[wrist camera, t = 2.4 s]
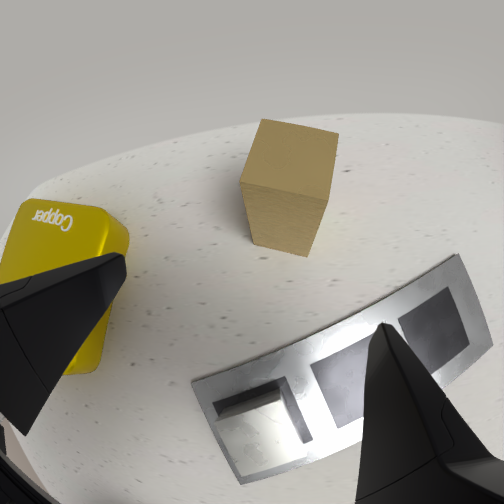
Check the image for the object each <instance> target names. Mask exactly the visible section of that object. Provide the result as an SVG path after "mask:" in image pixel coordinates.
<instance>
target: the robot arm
mask: <svg viewBox="0 0 504 504" xmlns="http://www.w3.org/2000/svg"><path fill="white" fill-rule="evenodd" d="M126 276H127V272H126V263H125V257H124V255H123V254H120V253H117V252H112V253H108V254H104V255H101V256H97V257H93V258H90V259H86V260H83V261H79V262H76V263H72V264H69V265H65V266H62V267H58V268H55V269H52V270H48V271H45V272H42V273H38V274H35V275H33V276H28V277H25V278H22V279H18V280H15V281H11V282H7V283H4V284H0V423H1V422H2V421H3V419H4V418H5V417H6V418H7V420H8V421H9V422H10V423H11V424H12V425H14V426H15V427H16V428H17V429H18V430H19V431H20V432H21V433H22V434H23V435H24V436H26V435H27V434H28V432H29V430H30V429H31V427H32V425H33V423H34V421H35V420H36V418H37V416H38V414H39V413H40V411H41V409H42V407H43V406H44V404H45V402H46V401H47V399H48V397H49V396H50V394H51V392H52V390H53V389H54V387H55V386H56V384H57V382H58V381H59V379H60V378H61V376H62V375H63V373H64V371H65V370H66V368H67V367H68V365H69V364H70V362H71V361H72V359H73V358H74V356H75V355H76V353H77V352H78V350H79V349H80V347H81V346H82V344H83V343H84V342H85V340H86V339H87V337H88V336H89V334H90V333H91V332H92V330H93V329H94V327H95V326H96V325H97V323H98V322H99V320H100V319H101V318H102V316H103V315H104V314H105V312H106V311H107V309H108V307H109V306H110V304H111V303H112V301H113V299H114V298H115V296H116V294H117V293H118V291H119V289H120V288H121V286H122V284H123V283H124V281H125V279H126ZM355 501H356V502H355V504H504V461H503V460H500V459H498V458H496V457H494V456H493V455H492V454H491V453H490V452H489V451H488V450H487V449H486V447H485V446H484V445H483V443H482V442H481V441H480V440H479V438H478V437H477V436H476V435H475V433H474V432H473V431H472V430H471V428H470V427H469V426H468V425H467V423H466V422H465V421H464V419H463V418H462V417H461V416H460V414H459V413H458V411H457V410H456V409H455V407H454V406H453V405H452V403H451V402H450V400H449V399H448V398H447V397H446V395H445V393H444V392H443V390H442V389H441V388H440V386H439V385H438V384H437V382H436V381H435V379H434V378H433V377H432V375H431V374H430V373H429V371H428V370H427V369H426V367H425V366H424V365H423V363H422V362H421V361H420V359H419V358H418V357H417V355H416V354H415V353H414V352H413V350H412V349H411V348H410V346H409V345H408V344H407V343H406V341H405V340H404V339H403V337H402V336H401V335H400V334H399V332H398V331H397V330H396V329H395V327H394V326H393V325H392V324H388V323H383V322H382V323H380V324H379V325H378V327H377V329H376V330H375V332H374V334H373V336H372V338H371V340H370V342H369V346H368V357H367V366H366V375H365V384H364V411H363V431H362V446H361V458H360V468H359V477H358V485H357V492H356V499H355ZM0 504H61V503H59V502H58V501H57V500H55V499H54V498H53V497H51V496H50V495H49V494H48V493H46V492H45V491H44V490H43V489H41V488H40V487H39V486H38V485H37V484H36V483H34V482H33V481H32V480H31V479H30V478H29V477H28V476H27V475H25V474H24V473H23V472H22V471H21V470H20V469H19V468H18V467H17V466H16V465H15V464H14V463H13V462H12V461H10V459H9V458H8V457H7V456H6V446H5V436H4V427H3V426H2V425H1V424H0Z"/></svg>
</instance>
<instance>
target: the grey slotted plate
mask: <svg viewBox="0 0 504 504" xmlns="http://www.w3.org/2000/svg"><path fill="white" fill-rule="evenodd" d="M382 322H383V323H388V324H392V325H393V326H394V327H395V329H396V330H397V331H398V332H399V334H400V335H401V336H402V337H403V339H404V340H405V341H406V343H407V344H408V345H409V346H410V348H411V349H412V350H413V352H414V353H415V354H416V355H417V357H418V358H419V359H420V361H421V362H422V363H423V365H424V366H425V367H426V369H427V370H428V371H429V373H430V374H431V375H432V377H433V378H434V379H435V381H436V382H437V384H438V385H439V386H440V388H441V389H443V388H444V387H446V386H447V385H448V384H449V383H451V382H452V381H453V380H454V379H456V378H457V377H458V376H459V375H461V374H462V373H463V372H464V371H465V370H467V369H468V368H469V367H470V366H471V365H472V364H473V363H475V362H476V361H477V360H478V359H479V358H480V357H481V356H482V355H483V354H484V353H485V352H487V351H488V350H489V349H490V348H491V347H492V346H493V342H492V338H491V335H490V332H489V329H488V326H487V323H486V320H485V317H484V314H483V311H482V308H481V305H480V303H479V300H478V297H477V295H476V292H475V290H474V287H473V285H472V282H471V280H470V278H469V275H468V273H467V271H466V268H465V266H464V264H463V262H462V260H461V258H460V255H459V253H458V254H456V255H455V256H453V257H452V258H450V259H449V260H447V261H446V262H444V263H443V264H441V265H440V266H438V267H436V268H435V269H433V270H432V271H430V272H429V273H427V274H425V275H424V276H422V277H420V278H419V279H417V280H416V281H414V282H412V283H411V284H409V285H407V286H406V287H404V288H402V289H400V290H399V291H397V292H395V293H393V294H392V295H390V296H388V297H386V298H385V299H383V300H381V301H379V302H377V303H375V304H374V305H372V306H370V307H368V308H366V309H364V310H362V311H360V312H359V313H357V314H355V315H353V316H351V317H349V318H347V319H345V320H343V321H341V322H339V323H337V324H335V325H333V326H331V327H329V328H327V329H325V330H322V331H320V332H318V333H316V334H314V335H312V336H310V337H307V338H305V339H303V340H301V341H299V342H296V343H294V344H292V345H289V346H287V347H285V348H283V349H280V350H278V351H275V352H273V353H271V354H268V355H266V356H263V357H261V358H258V359H256V360H253V361H251V362H248V363H246V364H243V365H240V366H238V367H235V368H232V369H230V370H227V371H224V372H221V373H219V374H216V375H213V376H210V377H207V378H204V379H201V380H198V381H195V382H192V383H191V385H192V387H193V389H194V392H195V394H196V396H197V399H198V401H199V403H200V405H201V408H202V410H203V412H204V414H205V417H206V419H207V421H208V423H209V425H210V427H211V429H212V431H213V433H214V435H215V438H216V440H217V442H218V444H219V446H220V448H221V450H222V451H223V453H224V455H225V457H226V459H227V461H228V463H229V465H230V467H231V469H232V470H233V472H234V474H235V476H236V478H237V479H238V481H239V483H240V485H242V484H246V483H250V482H254V481H258V480H261V479H265V478H268V477H271V476H274V475H278V474H281V473H284V472H287V471H289V470H292V469H295V468H298V467H301V466H303V465H306V464H309V463H311V462H314V461H316V460H319V459H321V458H323V457H326V456H328V455H330V454H333V453H335V452H337V451H339V450H341V449H344V448H346V447H348V446H350V445H352V444H354V443H356V442H358V441H360V440H362V431H363V411H364V384H365V375H366V366H367V357H368V346H369V342H370V340H371V338H372V336H373V334H374V332H375V330H376V329H377V327H378V325H379V324H380V323H382ZM279 388H280V390H281V392H282V395H283V397H284V399H285V401H286V404H287V406H288V408H289V410H290V412H291V415H292V417H293V419H294V421H295V423H296V426H297V428H298V430H299V432H300V434H301V437H302V440H303V444H304V448H305V452H306V455H307V456H304V457H302V458H299V459H296V460H294V461H291V462H288V463H285V464H282V465H279V466H276V467H273V468H270V469H267V470H264V471H260V472H257V473H254V474H250V475H246V476H242V477H241V475H240V473H239V471H238V469H237V468H236V466H235V464H234V462H233V460H232V458H231V456H230V454H229V452H228V450H227V448H226V446H225V444H224V442H223V440H222V438H221V436H220V434H219V432H218V430H217V428H216V426H215V424H214V422H215V420H216V419H217V418H218V416H219V415H220V414H221V412H222V411H223V410H224V408H227V407H230V406H233V405H236V404H239V403H242V402H244V401H247V400H250V399H253V398H256V397H258V396H261V395H264V394H266V393H269V392H271V391H274V390H276V389H279Z"/></svg>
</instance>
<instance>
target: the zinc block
mask: <svg viewBox="0 0 504 504" xmlns="http://www.w3.org/2000/svg"><path fill="white" fill-rule="evenodd" d="M214 424H215V426H216V428H217V430H218V432H219V434H220V436H221V438H222V440H223V442H224V444H225V446H226V448H227V450H228V452H229V454H230V456H231V458H232V460H233V462H234V464H235V466H236V468H237V469H238V471H239V473H240V475H241V477H242V476H246V475H250V474H254V473H257V472H260V471H264V470H267V469H270V468H273V467H276V466H279V465H282V464H285V463H288V462H291V461H294V460H296V459H299V458H302V457H304V456H307V455H306V452H305V448H304V444H303V440H302V437H301V434H300V432H299V430H298V428H297V426H296V423H295V421H294V419H293V417H292V415H291V412H290V410H289V408H288V406H287V404H286V401H285V399H284V397H283V395H282V392H281V390H280V388H279V389H276V390H274V391H271V392H269V393H266V394H264V395H261V396H258V397H256V398H253V399H250V400H247V401H244V402H242V403H239V404H236V405H233V406H230V407H227V408H224V410H223V411H222V412H221V414H220V415H219V416H218V418H217V419H216V420H215V422H214Z"/></svg>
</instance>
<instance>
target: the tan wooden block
mask: <svg viewBox="0 0 504 504" xmlns="http://www.w3.org/2000/svg"><path fill="white" fill-rule="evenodd" d="M338 136H339V134H338V133H334V132H329V131H325V130H321V129H316V128H311V127H306V126H301V125H296V124H291V123H285V122H280V121H273V120H267V119H262V120H261V122H260V125H259V128H258V130H257V133H256V136H255V139H254V141H253V144H252V147H251V150H250V153H249V155H248V158H247V161H246V164H245V167H244V170H243V172H242V175H241V178H240V181H239V182H240V186H241V191H242V195H243V199H244V204H245V208H246V212H247V217H248V221H249V225H250V230H251V234H252V238H253V243H254V245H258V246H262V247H266V248H270V249H275V250H279V251H283V252H287V253H291V254H295V255H300V256H304V257H308V255H309V252H310V249H311V247H312V244H313V241H314V239H315V236H316V233H317V231H318V228H319V225H320V222H321V220H322V217H323V214H324V211H325V209H326V206H327V203H328V200H329V194H330V188H331V182H332V176H333V170H334V164H335V157H336V150H337V144H338Z"/></svg>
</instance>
